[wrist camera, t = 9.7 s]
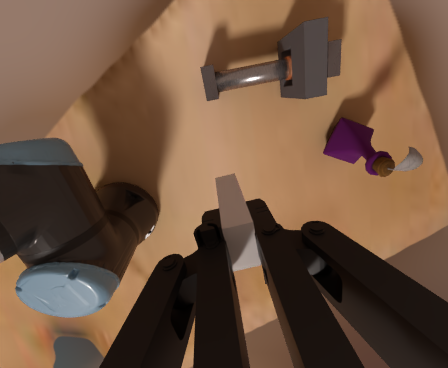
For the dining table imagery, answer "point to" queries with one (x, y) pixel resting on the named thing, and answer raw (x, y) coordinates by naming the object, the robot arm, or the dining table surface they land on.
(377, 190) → the dining table surface
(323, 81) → the collar
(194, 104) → the dining table surface
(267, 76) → the pipe stand
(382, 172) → the perfume bottle
